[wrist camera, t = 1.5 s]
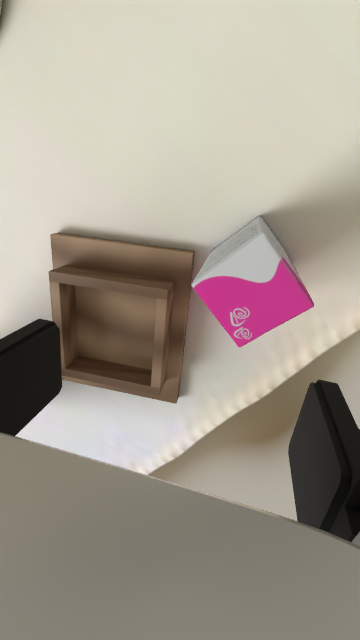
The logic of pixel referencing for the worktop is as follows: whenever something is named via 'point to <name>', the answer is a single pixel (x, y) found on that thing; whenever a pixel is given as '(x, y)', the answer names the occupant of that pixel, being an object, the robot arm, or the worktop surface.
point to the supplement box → (251, 283)
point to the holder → (121, 313)
